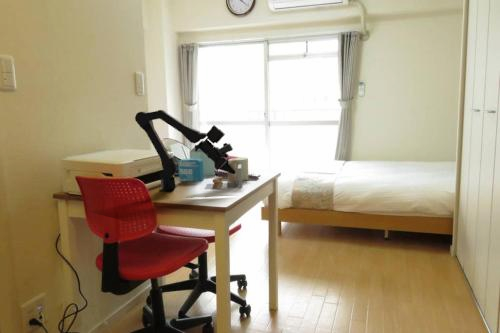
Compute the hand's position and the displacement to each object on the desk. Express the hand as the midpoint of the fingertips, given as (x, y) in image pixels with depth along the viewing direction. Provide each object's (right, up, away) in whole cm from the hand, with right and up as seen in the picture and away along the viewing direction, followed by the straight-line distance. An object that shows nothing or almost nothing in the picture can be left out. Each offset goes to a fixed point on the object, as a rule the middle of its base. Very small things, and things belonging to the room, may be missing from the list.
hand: (235, 172), depth 182 cm
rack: (-5, -7, +1) cm, 9 cm away
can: (+2, -5, +16) cm, 17 cm away
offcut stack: (-8, -6, +1) cm, 10 cm away
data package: (-23, -5, +18) cm, 30 cm away
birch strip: (-1, -6, +1) cm, 6 cm away
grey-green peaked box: (-20, -2, +36) cm, 41 cm away
